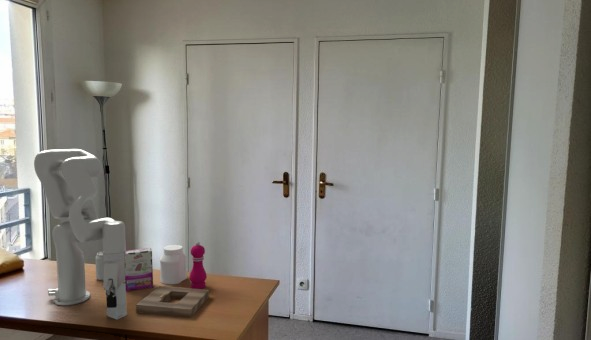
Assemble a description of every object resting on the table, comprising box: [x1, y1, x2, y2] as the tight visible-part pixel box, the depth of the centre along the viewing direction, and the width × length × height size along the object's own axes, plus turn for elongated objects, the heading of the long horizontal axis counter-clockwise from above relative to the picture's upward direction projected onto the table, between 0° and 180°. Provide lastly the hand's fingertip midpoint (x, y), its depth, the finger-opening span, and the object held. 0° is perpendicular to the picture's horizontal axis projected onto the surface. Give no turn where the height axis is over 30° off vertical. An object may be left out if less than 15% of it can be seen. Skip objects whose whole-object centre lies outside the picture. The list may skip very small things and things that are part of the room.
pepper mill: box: [189, 241, 208, 289], centre depth 174 cm, size 7×7×20 cm
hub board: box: [135, 285, 210, 318], centre depth 157 cm, size 18×22×3 cm
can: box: [94, 250, 105, 282], centre depth 182 cm, size 8×8×12 cm
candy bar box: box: [124, 247, 154, 292], centre depth 172 cm, size 11×5×16 cm, turn 114°
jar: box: [159, 244, 188, 286], centre depth 181 cm, size 12×10×15 cm
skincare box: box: [106, 283, 127, 321], centre depth 146 cm, size 6×4×12 cm
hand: (116, 301), depth 146 cm, fingers open, 9 cm apart
